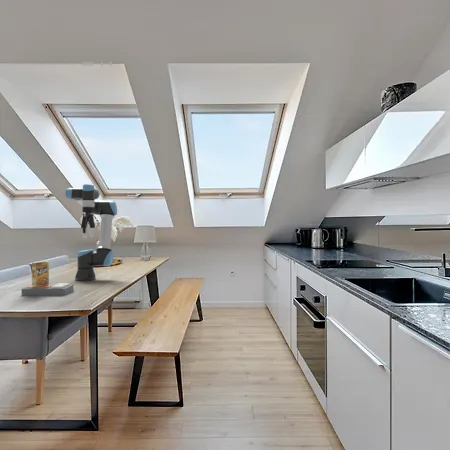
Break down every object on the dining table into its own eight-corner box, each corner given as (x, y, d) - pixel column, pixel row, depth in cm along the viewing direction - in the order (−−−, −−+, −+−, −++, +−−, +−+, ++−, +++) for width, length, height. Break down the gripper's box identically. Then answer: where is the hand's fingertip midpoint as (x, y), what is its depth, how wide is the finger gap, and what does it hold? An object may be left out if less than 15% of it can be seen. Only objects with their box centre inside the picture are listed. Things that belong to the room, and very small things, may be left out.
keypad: (32, 290, 228) (32, 282, 228) (73, 290, 229) (73, 282, 229) (21, 295, 214) (21, 286, 214) (64, 295, 215) (64, 286, 215)
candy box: (35, 287, 217) (35, 262, 216) (31, 286, 219) (31, 262, 219) (49, 285, 224) (49, 261, 224) (45, 284, 226) (45, 261, 226)
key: (33, 288, 225) (33, 284, 225) (53, 288, 226) (53, 284, 226) (26, 291, 217) (26, 287, 217) (47, 291, 218) (47, 287, 218)
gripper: (87, 205, 227) (87, 238, 227) (99, 207, 252) (99, 236, 252) (75, 205, 227) (75, 238, 227) (88, 207, 252) (88, 236, 252)
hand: (88, 237), depth 239 cm, fingers open, 13 cm apart
